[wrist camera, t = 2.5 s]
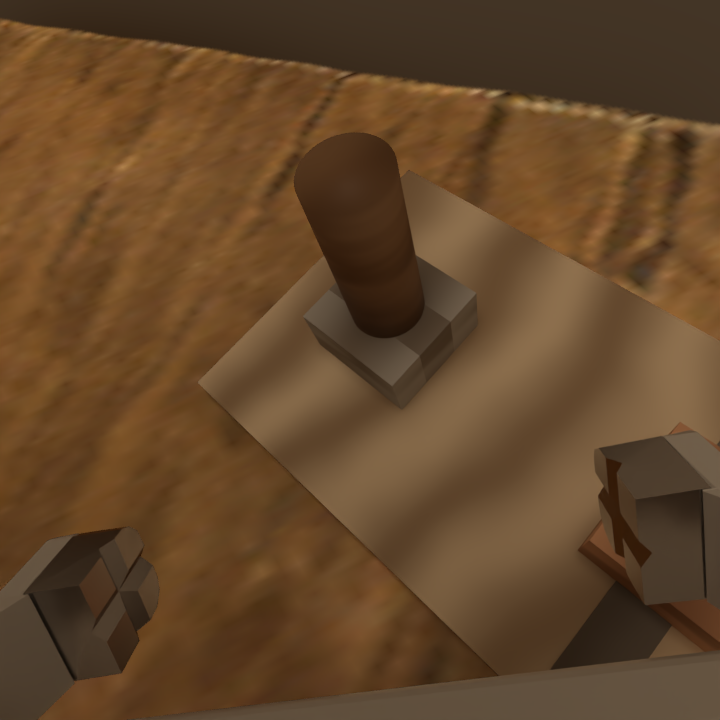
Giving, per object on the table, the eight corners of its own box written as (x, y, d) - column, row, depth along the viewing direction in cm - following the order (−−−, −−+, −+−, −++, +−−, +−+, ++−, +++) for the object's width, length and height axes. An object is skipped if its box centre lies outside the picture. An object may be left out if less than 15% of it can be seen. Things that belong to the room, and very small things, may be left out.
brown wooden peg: (349, 339, 30) (273, 184, 19) (393, 292, 31) (343, 118, 20) (399, 377, 29) (346, 232, 18) (444, 327, 29) (419, 158, 19)
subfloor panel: (209, 392, 33) (168, 358, 28) (411, 186, 36) (401, 129, 32) (718, 886, 20) (779, 956, 16) (960, 496, 23) (1064, 469, 19)
